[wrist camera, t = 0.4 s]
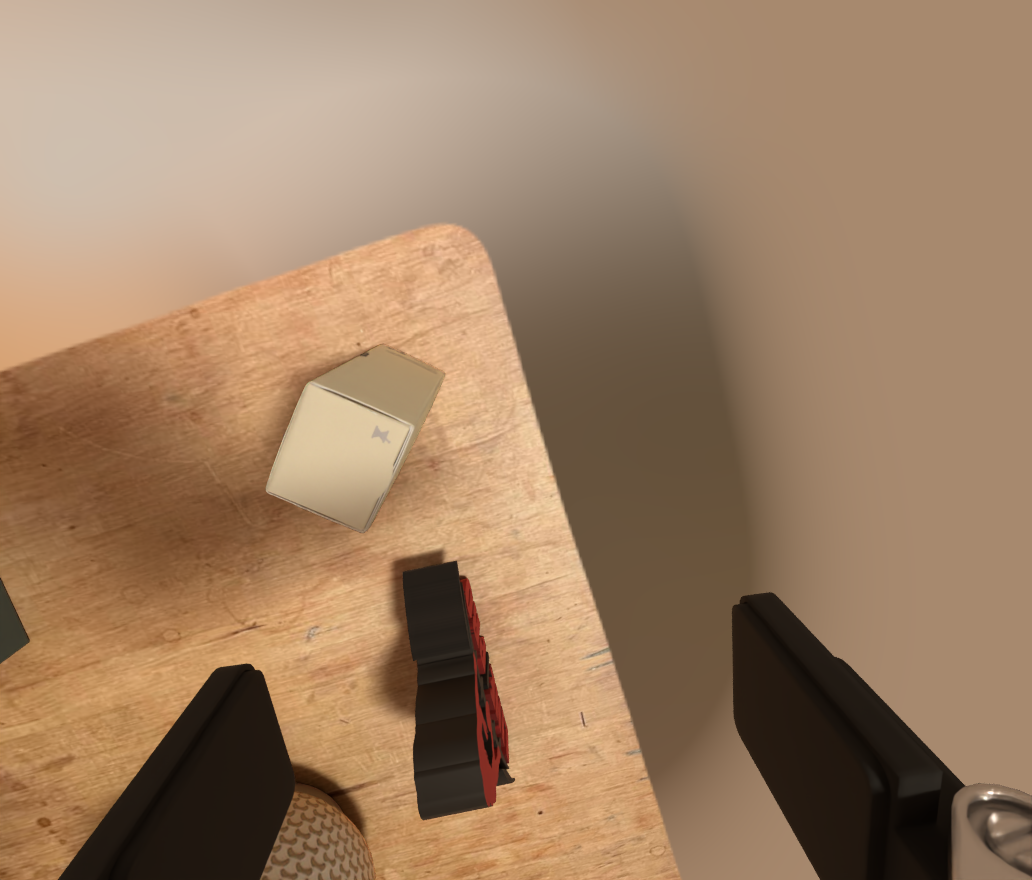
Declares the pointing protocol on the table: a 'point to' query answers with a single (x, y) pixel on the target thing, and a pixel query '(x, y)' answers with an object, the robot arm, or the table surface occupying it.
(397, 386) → the box
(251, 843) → the robot arm
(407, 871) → the table surface
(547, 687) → the table surface
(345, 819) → the planter
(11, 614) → the green stepped block
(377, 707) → the table surface
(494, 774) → the extruded letter emblem
